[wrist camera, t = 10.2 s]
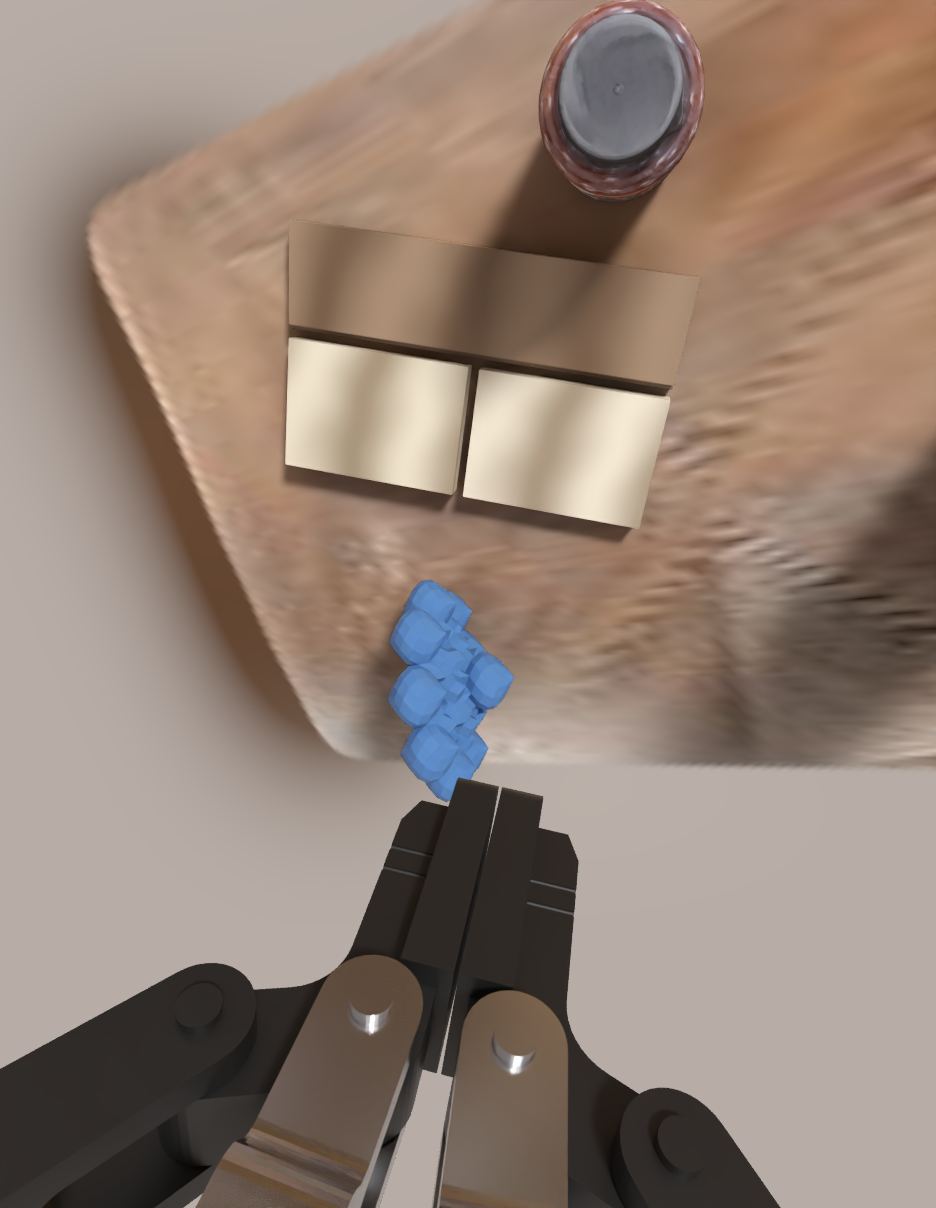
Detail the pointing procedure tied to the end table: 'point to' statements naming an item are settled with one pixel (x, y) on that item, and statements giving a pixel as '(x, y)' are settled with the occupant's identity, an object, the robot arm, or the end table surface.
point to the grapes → (443, 687)
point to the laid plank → (490, 303)
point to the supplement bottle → (621, 99)
